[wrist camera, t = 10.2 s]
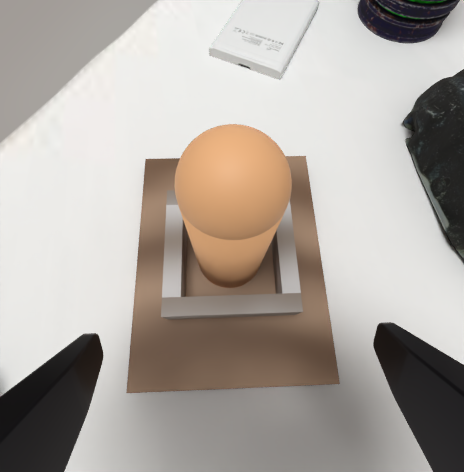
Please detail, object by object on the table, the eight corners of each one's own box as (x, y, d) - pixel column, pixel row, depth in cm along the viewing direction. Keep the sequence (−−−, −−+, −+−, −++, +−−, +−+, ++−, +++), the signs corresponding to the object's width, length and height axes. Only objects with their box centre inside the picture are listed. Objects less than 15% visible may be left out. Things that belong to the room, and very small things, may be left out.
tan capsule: (272, 268, 22) (333, 175, 9) (216, 299, 21) (203, 240, 8) (241, 217, 23) (259, 78, 11) (187, 244, 22) (141, 125, 10)
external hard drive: (315, 14, 34) (278, 84, 30) (253, -6, 35) (209, 59, 31) (320, -1, 33) (281, 70, 29) (254, -21, 34) (208, 45, 30)
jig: (334, 381, 20) (354, 389, 17) (131, 390, 19) (112, 400, 16) (302, 162, 26) (313, 137, 23) (148, 165, 26) (137, 140, 23)
